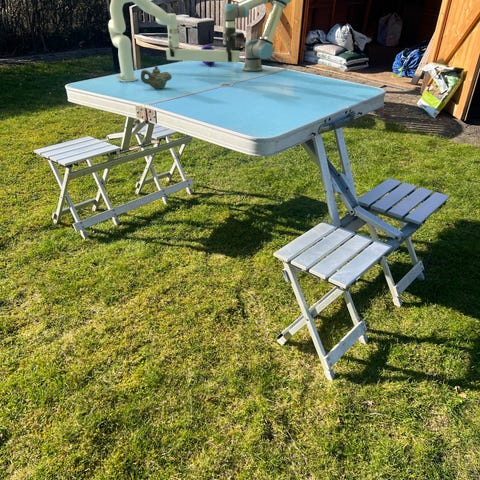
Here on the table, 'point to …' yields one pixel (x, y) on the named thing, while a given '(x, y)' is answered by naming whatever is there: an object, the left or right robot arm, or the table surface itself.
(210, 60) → the block
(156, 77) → the teapot
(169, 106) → the table surface
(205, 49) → the toy
